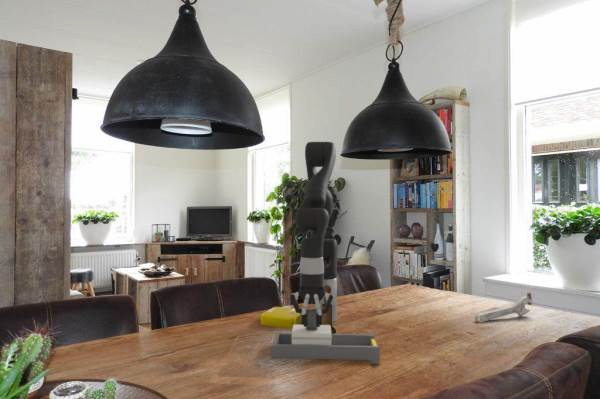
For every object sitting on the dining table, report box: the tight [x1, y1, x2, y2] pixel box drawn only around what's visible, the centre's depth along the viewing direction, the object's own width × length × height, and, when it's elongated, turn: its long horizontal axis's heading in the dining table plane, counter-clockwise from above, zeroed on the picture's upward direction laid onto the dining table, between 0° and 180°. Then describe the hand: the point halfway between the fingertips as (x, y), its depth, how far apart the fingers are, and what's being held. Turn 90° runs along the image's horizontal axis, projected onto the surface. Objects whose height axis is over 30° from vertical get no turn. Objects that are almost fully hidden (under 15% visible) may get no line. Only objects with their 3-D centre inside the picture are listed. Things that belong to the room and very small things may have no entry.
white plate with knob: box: [291, 307, 332, 345], centre depth 130 cm, size 9×12×13 cm
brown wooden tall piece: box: [322, 286, 337, 334], centre depth 150 cm, size 7×6×18 cm
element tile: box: [260, 306, 302, 329], centre depth 167 cm, size 15×15×5 cm
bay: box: [271, 332, 381, 365], centre depth 129 cm, size 12×32×5 cm, turn 88°
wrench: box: [474, 296, 533, 323], centre depth 173 cm, size 8×2×30 cm
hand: (311, 326), depth 130 cm, fingers closed on white plate with knob, 3 cm apart
